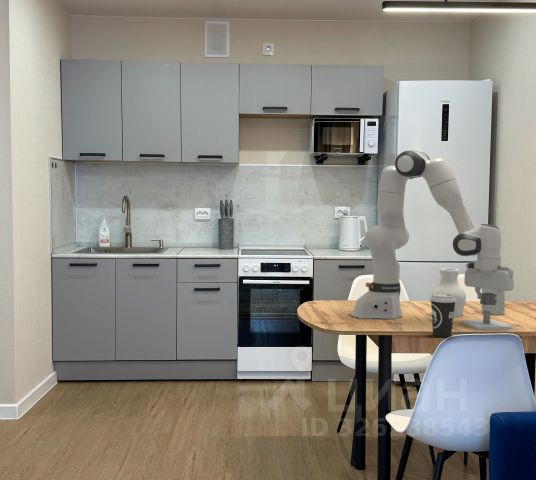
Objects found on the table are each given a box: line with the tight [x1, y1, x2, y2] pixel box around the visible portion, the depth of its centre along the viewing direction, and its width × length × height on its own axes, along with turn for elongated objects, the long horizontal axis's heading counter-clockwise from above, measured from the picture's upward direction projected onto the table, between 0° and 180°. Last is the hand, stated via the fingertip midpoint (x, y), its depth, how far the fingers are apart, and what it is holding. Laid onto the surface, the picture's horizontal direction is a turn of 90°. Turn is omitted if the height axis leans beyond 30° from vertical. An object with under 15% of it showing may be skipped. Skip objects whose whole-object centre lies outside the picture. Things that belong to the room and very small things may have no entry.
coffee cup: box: [429, 293, 456, 338], centre depth 239 cm, size 10×10×15 cm
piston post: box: [461, 310, 513, 331], centre depth 257 cm, size 14×14×6 cm
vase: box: [431, 267, 467, 318], centre depth 281 cm, size 14×14×20 cm
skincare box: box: [481, 288, 506, 316], centre depth 285 cm, size 8×6×15 cm
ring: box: [479, 292, 497, 306], centre depth 256 cm, size 6×6×4 cm
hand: (488, 299), depth 256 cm, fingers closed on ring, 6 cm apart
